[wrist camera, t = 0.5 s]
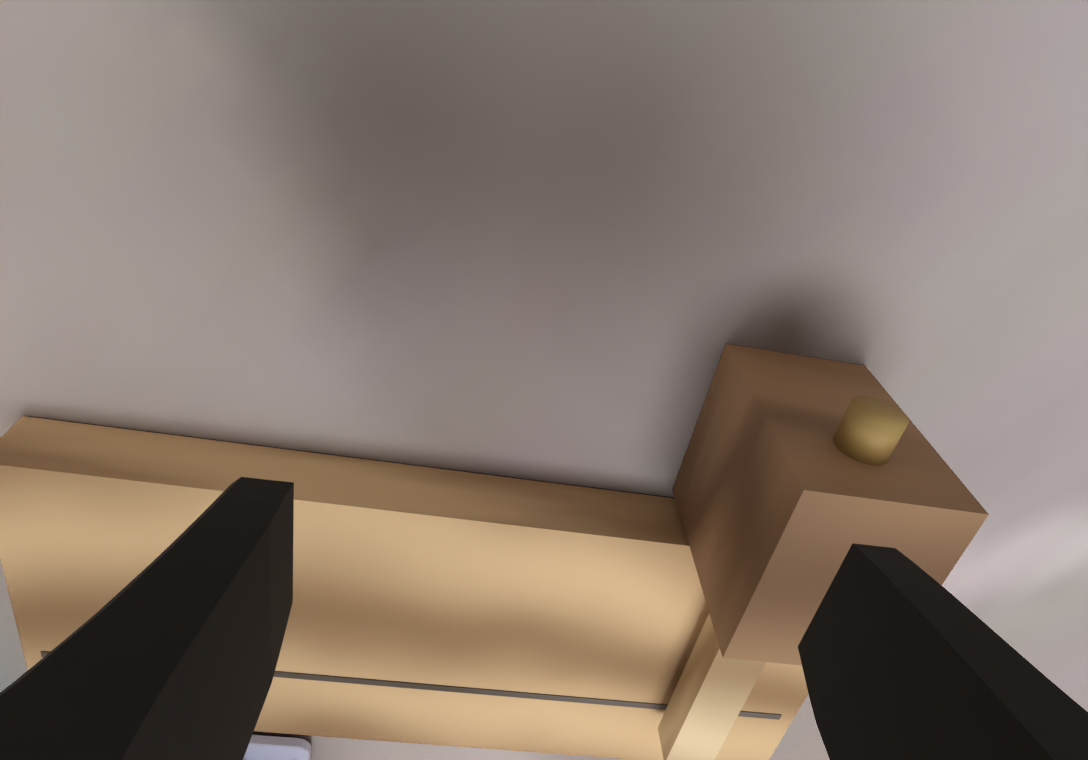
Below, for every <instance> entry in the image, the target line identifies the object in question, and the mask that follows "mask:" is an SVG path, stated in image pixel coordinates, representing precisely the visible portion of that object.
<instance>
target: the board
mask: <svg viewBox="0 0 1088 760" xmlns="http://www.w3.org/2000/svg"><path fill="white" fill-rule="evenodd" d="M240 477H248V478H257V479H266V480H275V481H284V482H294V518H293V603H292V607H291V611H290V615H289V619H288V623H287V627H286V631H285V635H284V639H283V642H282V646H281V650H280V654H279V658H278V661H277V665H276V669H275V673H274V676H273V680H272V683H271V686H270V689H269V691H268V694H267V697H266V700H265V702H264V705H263V708H262V710H261V713H260V716H259V718H258V721H257V724H256V726H255V729H254V731H258V732H271V733H284V734H298V735H311V736H325V737H338V738H352V739H365V740H378V741H392V742H405V743H419V744H432V745H445V746H459V747H472V748H486V749H499V750H512V751H526V752H539V753H553V754H566V755H579V756H593V757H606V758H620V759H633V760H664V759H663V754H662V749H661V743H660V738H659V733H658V726H659V724H660V722H661V719H662V717H663V715H664V713H665V711H666V708H667V706H668V704H669V702H670V699H671V697H672V695H673V693H674V691H675V688H676V686H677V684H678V682H679V679H680V677H681V675H682V673H683V671H684V668H685V666H686V664H687V662H688V659H689V657H690V655H691V653H692V650H693V648H694V646H695V644H696V642H697V639H698V637H699V635H700V633H701V630H702V628H703V626H704V624H705V622H706V619H707V617H708V615H709V611H708V607H707V604H706V600H705V597H704V594H703V590H702V587H701V584H700V580H699V577H698V574H697V570H696V567H695V563H694V560H693V557H692V553H691V550H690V547H689V543H688V540H687V537H686V533H685V530H684V526H683V523H682V520H681V516H680V513H679V510H678V506H677V503H676V500H675V498H667V497H659V496H651V495H643V494H635V493H627V492H619V491H611V490H604V489H596V488H588V487H580V486H572V485H564V484H556V483H548V482H540V481H532V480H524V479H517V478H509V477H501V476H493V475H485V474H477V473H469V472H461V471H453V470H445V469H437V468H429V467H422V466H414V465H406V464H398V463H390V462H382V461H374V460H366V459H358V458H350V457H342V456H335V455H327V454H319V453H311V452H303V451H295V450H287V449H279V448H271V447H263V446H255V445H247V444H240V443H232V442H224V441H216V440H208V439H200V438H192V437H184V436H176V435H168V434H160V433H153V432H145V431H137V430H129V429H121V428H113V427H105V426H97V425H89V424H81V423H73V422H65V421H58V420H50V419H42V418H34V417H26V416H22V417H21V418H20V419H19V420H18V421H17V422H16V423H15V424H14V425H13V426H12V427H11V428H10V429H9V430H8V431H7V432H6V433H5V434H4V435H3V436H2V437H1V438H0V560H1V564H2V568H3V572H4V576H5V580H6V584H7V588H8V592H9V596H10V600H11V604H12V608H13V612H14V616H15V620H16V624H17V628H18V632H19V636H20V640H21V644H22V648H23V652H24V656H25V660H26V664H27V669H28V670H29V669H30V668H31V667H33V666H34V665H35V664H36V663H37V662H39V661H40V660H41V659H42V658H43V657H45V656H46V655H47V654H48V653H49V652H51V651H52V650H53V649H54V648H55V647H57V646H58V645H59V644H60V643H61V642H63V641H64V640H65V639H66V638H67V637H69V636H70V635H71V634H72V633H73V632H75V631H76V630H77V629H78V628H79V627H81V626H82V625H83V624H84V623H85V622H86V621H88V620H89V619H90V618H91V617H92V616H93V615H95V614H96V613H97V612H98V611H99V610H100V609H101V608H102V607H104V606H105V605H106V604H107V603H108V602H109V601H110V600H111V599H112V598H113V597H115V596H116V595H117V594H118V593H119V592H120V591H121V590H122V589H123V588H124V587H125V586H127V585H128V584H129V583H130V582H131V581H132V580H133V579H134V578H135V577H136V576H137V575H139V574H140V573H141V572H142V571H143V570H144V569H145V568H146V567H147V566H148V565H150V564H151V563H152V562H153V561H154V560H155V559H156V558H157V557H158V556H159V555H160V554H161V553H162V552H163V551H164V550H165V549H166V548H167V547H168V546H170V545H171V544H172V543H173V542H174V541H175V540H176V539H177V538H178V537H179V536H180V535H181V534H182V533H183V532H184V531H185V530H186V529H187V528H188V527H189V526H190V525H191V524H192V523H193V522H194V521H195V520H196V519H197V518H198V517H199V516H200V515H201V514H202V513H203V512H204V511H205V510H206V509H207V508H208V507H209V506H210V505H211V504H212V503H213V502H214V501H215V500H216V499H217V498H218V497H219V496H220V495H221V494H222V493H223V492H224V491H225V490H226V489H227V488H228V487H229V486H230V484H231V483H233V482H234V481H236V480H237V479H239V478H240ZM807 695H808V689H807V685H806V681H805V676H804V672H803V667H802V666H801V665H791V664H781V663H771V662H766V664H765V666H764V668H763V670H762V672H761V673H760V675H759V677H758V679H757V681H756V683H755V685H754V687H753V688H752V690H751V692H750V694H749V696H748V698H747V700H746V702H745V704H744V705H743V707H742V709H741V711H740V713H739V715H738V717H737V719H736V720H735V722H734V724H733V726H732V728H731V730H730V732H729V734H728V735H727V737H726V739H725V741H724V743H723V745H722V747H721V749H720V750H719V752H718V754H717V756H716V758H715V760H769V759H770V757H771V755H772V754H773V752H774V750H775V749H776V747H777V745H778V744H779V742H780V740H781V739H782V737H783V735H784V734H785V732H786V730H787V729H788V727H789V725H790V724H791V722H792V720H793V718H794V717H795V715H796V713H797V712H798V710H799V708H800V707H801V705H802V703H803V702H804V700H805V698H806V697H807Z"/></svg>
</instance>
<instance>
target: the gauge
mask: <svg viewBox="0 0 1088 760" xmlns="http://www.w3.org/2000/svg"><path fill="white" fill-rule="evenodd" d="M672 490H673V493H674V496H675V500H676V503H677V506H678V510H679V513H680V516H681V520H682V523H683V526H684V530H685V533H686V537H687V540H688V543H689V547H690V550H691V553H692V557H693V560H694V563H695V567H696V570H697V574H698V577H699V580H700V584H701V587H702V590H703V594H704V597H705V600H706V604H707V607H708V611H709V615H708V617H707V619H706V622H705V624H704V626H703V628H702V630H701V633H700V635H699V637H698V639H697V642H696V644H695V646H694V648H693V650H692V653H691V655H690V657H689V659H688V662H687V664H686V666H685V668H684V671H683V673H682V675H681V677H680V679H679V682H678V684H677V686H676V688H675V691H674V693H673V695H672V697H671V699H670V702H669V704H668V706H667V708H666V711H665V713H664V715H663V717H662V719H661V722H660V724H659V726H658V733H659V738H660V743H661V749H662V754H663V759H664V760H715V758H716V756H717V754H718V752H719V750H720V749H721V747H722V745H723V743H724V741H725V739H726V737H727V735H728V734H729V732H730V730H731V728H732V726H733V724H734V722H735V720H736V719H737V717H738V715H739V713H740V711H741V709H742V707H743V705H744V704H745V702H746V700H747V698H748V696H749V694H750V692H751V690H752V688H753V687H754V685H755V683H756V681H757V679H758V677H759V675H760V673H761V672H762V670H763V668H764V666H765V664H766V662H771V663H781V664H791V665H801V666H802V663H801V659H800V654H799V650H798V645H799V643H800V641H801V639H802V638H803V636H804V634H805V632H806V630H807V628H808V626H809V624H810V623H811V621H812V619H813V617H814V615H815V613H816V611H817V609H818V607H819V606H820V604H821V602H822V600H823V598H824V596H825V594H826V592H827V590H828V589H829V587H830V585H831V583H832V581H833V579H834V577H835V575H836V574H837V572H838V570H839V568H840V566H841V564H842V562H843V560H844V558H845V557H846V555H847V553H848V551H849V549H850V547H851V545H852V543H854V544H863V545H872V546H881V547H891V548H896V549H897V550H898V551H900V552H901V553H902V554H904V555H905V556H906V557H907V558H909V559H910V560H911V561H913V562H914V563H915V564H916V565H918V566H919V567H920V568H921V569H922V570H924V571H925V572H926V573H927V574H928V575H930V576H931V577H932V578H933V579H934V580H935V581H937V582H938V583H939V584H940V585H942V584H943V582H944V581H945V579H946V578H947V576H948V575H949V573H950V572H951V570H952V569H953V567H954V566H955V564H956V563H957V561H958V560H959V558H960V557H961V555H962V554H963V552H964V551H965V549H966V548H967V546H968V545H969V543H970V542H971V540H972V539H973V537H974V536H975V534H976V533H977V531H978V530H979V528H980V527H981V525H982V524H983V522H984V521H985V519H986V518H987V516H988V515H989V514H988V513H987V512H986V511H985V510H984V508H983V507H982V506H981V505H980V504H979V502H978V501H977V500H976V499H975V498H974V496H973V495H972V494H971V493H970V491H969V490H968V489H967V488H966V487H965V485H964V484H963V483H962V482H961V481H960V479H959V478H958V477H957V476H956V475H955V473H954V472H953V471H952V470H951V469H950V467H949V466H948V465H947V464H946V463H945V461H944V460H943V459H942V458H941V457H940V455H939V454H938V453H937V452H936V451H935V449H934V448H933V447H932V446H931V445H930V443H929V442H928V441H927V440H926V439H925V437H924V436H923V435H922V434H921V433H920V431H919V430H918V429H917V428H916V426H915V425H914V424H913V423H912V422H911V420H910V419H909V418H908V417H907V416H906V414H905V413H904V412H903V411H902V410H901V408H900V407H899V406H898V405H897V404H896V402H895V401H894V400H893V399H892V398H891V396H890V395H889V394H888V393H887V392H886V390H885V389H884V388H883V387H882V386H881V384H880V383H879V382H878V381H877V380H876V378H875V377H874V376H873V375H872V374H871V372H870V371H869V370H868V369H867V368H866V366H864V365H858V364H851V363H845V362H839V361H833V360H826V359H820V358H814V357H807V356H801V355H795V354H788V353H782V352H776V351H769V350H763V349H757V348H750V347H744V346H738V345H732V344H725V347H724V349H723V352H722V355H721V358H720V360H719V363H718V366H717V369H716V371H715V374H714V377H713V379H712V382H711V385H710V388H709V390H708V393H707V396H706V399H705V401H704V404H703V407H702V410H701V412H700V415H699V418H698V420H697V423H696V426H695V429H694V431H693V434H692V437H691V440H690V442H689V445H688V448H687V451H686V453H685V456H684V459H683V461H682V464H681V467H680V470H679V472H678V475H677V478H676V481H675V483H674V486H673V489H672Z"/></svg>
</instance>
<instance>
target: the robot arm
mask: <svg viewBox="0 0 1088 760" xmlns="http://www.w3.org/2000/svg"><path fill="white" fill-rule="evenodd" d="M293 518H294V482H284V481H275V480H266V479H257V478H248V477H240V478H239V479H237V480H236V481H234V482H233V483H231V484H230V486H229V487H228V488H227V489H226V490H225V491H224V492H223V493H222V494H221V495H220V496H219V497H218V498H217V499H216V500H215V501H214V502H213V503H212V504H211V505H210V506H209V507H208V508H207V509H206V510H205V511H204V512H203V513H202V514H201V515H200V516H199V517H198V518H197V519H196V520H195V521H194V522H193V523H192V524H191V525H190V526H189V527H188V528H187V529H186V530H185V531H184V532H183V533H182V534H181V535H180V536H179V537H178V538H177V539H176V540H175V541H174V542H173V543H172V544H171V545H170V546H168V547H167V548H166V549H165V550H164V551H163V552H162V553H161V554H160V555H159V556H158V557H157V558H156V559H155V560H154V561H153V562H152V563H151V564H150V565H148V566H147V567H146V568H145V569H144V570H143V571H142V572H141V573H140V574H139V575H137V576H136V577H135V578H134V579H133V580H132V581H131V582H130V583H129V584H128V585H127V586H125V587H124V588H123V589H122V590H121V591H120V592H119V593H118V594H117V595H116V596H115V597H113V598H112V599H111V600H110V601H109V602H108V603H107V604H106V605H105V606H104V607H102V608H101V609H100V610H99V611H98V612H97V613H96V614H95V615H93V616H92V617H91V618H90V619H89V620H88V621H86V622H85V623H84V624H83V625H82V626H81V627H79V628H78V629H77V630H76V631H75V632H73V633H72V634H71V635H70V636H69V637H67V638H66V639H65V640H64V641H63V642H61V643H60V644H59V645H58V646H57V647H55V648H54V649H53V650H52V651H51V652H49V653H48V654H47V655H46V656H45V657H43V658H42V659H41V660H40V661H39V662H37V663H36V664H35V665H34V666H33V667H31V668H30V669H29V670H28V671H27V672H25V673H24V674H23V675H22V676H21V677H20V678H18V679H17V680H16V681H15V682H13V683H12V684H11V685H10V686H8V687H7V688H6V689H5V690H3V691H2V692H1V693H0V760H311V745H310V743H309V742H308V741H306V740H304V739H301V738H291V737H277V736H264V735H252V734H253V732H254V729H255V726H256V724H257V721H258V718H259V716H260V713H261V710H262V708H263V705H264V702H265V700H266V697H267V694H268V691H269V689H270V686H271V683H272V680H273V676H274V673H275V669H276V665H277V661H278V658H279V654H280V650H281V646H282V642H283V639H284V635H285V631H286V627H287V623H288V619H289V615H290V611H291V607H292V603H293ZM798 650H799V654H800V659H801V663H802V667H803V672H804V676H805V681H806V685H807V689H808V693H809V697H810V701H811V704H812V708H813V712H814V716H815V719H816V723H817V726H818V729H819V731H820V734H821V737H822V740H823V742H824V745H825V748H826V750H827V753H828V756H829V758H830V760H1088V712H1087V711H1085V710H1084V709H1083V708H1082V707H1081V706H1079V705H1078V704H1077V703H1076V702H1075V701H1074V700H1072V699H1071V698H1070V697H1069V696H1068V695H1066V694H1065V693H1064V692H1063V691H1062V690H1061V689H1059V688H1058V687H1057V686H1056V685H1055V684H1054V683H1052V682H1051V681H1050V680H1049V679H1048V678H1047V677H1045V676H1044V675H1043V674H1042V673H1041V672H1040V671H1038V670H1037V669H1036V668H1035V667H1034V666H1033V665H1032V664H1030V663H1029V662H1028V661H1027V660H1026V659H1025V658H1024V657H1022V656H1021V655H1020V654H1019V653H1018V652H1017V651H1016V650H1014V649H1013V648H1012V647H1011V646H1010V645H1009V644H1008V643H1006V642H1005V641H1004V640H1003V639H1002V638H1001V637H1000V636H998V635H997V634H996V633H995V632H994V631H993V630H992V629H990V628H989V627H988V626H987V625H986V624H985V623H984V622H983V621H981V620H980V619H979V618H978V617H977V616H976V615H975V614H973V613H972V612H971V611H970V610H969V609H968V608H967V607H965V606H964V605H963V604H962V603H961V602H960V601H959V600H957V599H956V598H955V597H954V596H953V595H952V594H951V593H949V592H948V591H947V590H946V589H945V588H944V587H942V586H941V585H940V584H939V583H938V582H937V581H935V580H934V579H933V578H932V577H931V576H930V575H928V574H927V573H926V572H925V571H924V570H922V569H921V568H920V567H919V566H918V565H916V564H915V563H914V562H913V561H911V560H910V559H909V558H907V557H906V556H905V555H904V554H902V553H901V552H900V551H898V550H897V549H896V548H891V547H881V546H872V545H863V544H854V543H852V545H851V547H850V549H849V551H848V553H847V555H846V557H845V558H844V560H843V562H842V564H841V566H840V568H839V570H838V572H837V574H836V575H835V577H834V579H833V581H832V583H831V585H830V587H829V589H828V590H827V592H826V594H825V596H824V598H823V600H822V602H821V604H820V606H819V607H818V609H817V611H816V613H815V615H814V617H813V619H812V621H811V623H810V624H809V626H808V628H807V630H806V632H805V634H804V636H803V638H802V639H801V641H800V643H799V645H798Z"/></svg>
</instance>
